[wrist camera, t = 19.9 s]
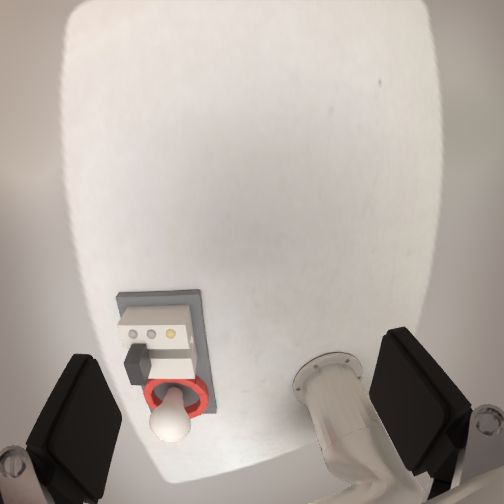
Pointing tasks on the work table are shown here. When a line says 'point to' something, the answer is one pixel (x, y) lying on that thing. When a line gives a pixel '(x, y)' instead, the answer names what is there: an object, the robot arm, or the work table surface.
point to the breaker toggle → (138, 364)
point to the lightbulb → (170, 418)
